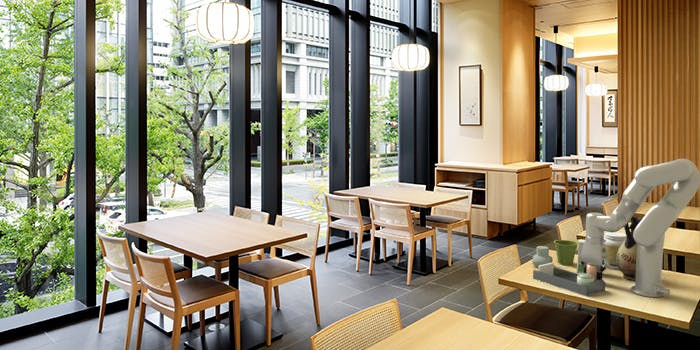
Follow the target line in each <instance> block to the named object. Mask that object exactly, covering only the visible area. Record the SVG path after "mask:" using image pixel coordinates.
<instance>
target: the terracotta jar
mask: <svg viewBox="0 0 700 350" xmlns="http://www.w3.org/2000/svg"><path fill="white" fill-rule="evenodd" d="M597 272H598V269H597V266H596V265H594V264H590V263H587V271H586V273H587V274H591V275H593V277H595V279H597Z"/></svg>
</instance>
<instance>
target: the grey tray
mask: <svg viewBox="0 0 700 350" xmlns="http://www.w3.org/2000/svg"><path fill="white" fill-rule="evenodd" d="M579 274H580V273H577V272H574V271H570V270H566V269H563V268H560V267H556V266H554V269H553V275H550V274H546V273H543V272H540V271H538V269H533V271H532V279H533V280H536V281H539V280H540V281H539V282H542V281H543V283H545V282H546V283H545V284H548V283H549V284H548V285H551V286H555V287H558V288H560V289H564V290H567V291H569V292H573V293H576V294H578V295H582V296H585V297H588V296H591V295H595V294H599V293H602V292H605V291H606V281H605V280H604V279H603V278H602V279H601V280H597V279H595V281H594V282H590V283H586V286H585V285H582V284H579V283H577V275H579Z"/></svg>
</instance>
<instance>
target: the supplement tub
mask: <svg viewBox="0 0 700 350" xmlns="http://www.w3.org/2000/svg"><path fill="white" fill-rule="evenodd" d="M626 237H627V236H626V232H625V233H624V232H619V231H617V232H607V231H605V232H604V239H605V240H606V242H604V244H605V245H606V250H607V262H608V264H609V265H610V267H609V268H608V269H610V270H619V268H618V267H617V264H616V256H617V252H618V249H619V248H620V246H621V245H622V244H623V242H624V241H625V240H626ZM604 266H605V265H603V267H604ZM619 271H620V270H619Z"/></svg>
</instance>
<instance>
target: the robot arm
mask: <svg viewBox="0 0 700 350" xmlns="http://www.w3.org/2000/svg"><path fill="white" fill-rule="evenodd" d="M672 183H673V184H672ZM668 184H672V185H671V186H670V187H669V189H668V190H667V192H666V193H665V194H664V196H663V197H662V198H661V199H660V200H659V201H657V202H656V203H655V204H653V205H652V206H651V207H650V208H649V209H648V211H647V212H646V214H645V215H644V216H643V217H642V218H643V219H642V220H641V221H640V223H639V224H638V225H637V227H636V228H635V229H634V232H633V237H634V240H635V241H636V242H637V243H638V245H637V259H636V279H635V280H634V281H635V282H634V283H635V284H634V285H632V286H631V287H630V291H631V292H632V293H634V294H636V295H639V296H642V297H648V298H660V297H664V296H670V294H671V289H669V288H666V287H664V285H665V284H664V283H662V276H663V275H662V272H663V258H664V257H663V255H664V244H665V239H666V238H665V236H666V232H667V231H668V229H670V227H671V226H672V225H673V223H674V222H675V221H677V220H678V218H679V217H680V215H681V213H683V210H684V209H685V208H686V207H687V205H688V204H689V203H690V201H691V200H692V199H693V197H694V196H695V195H696V193H697V191H698V190H699V188H700V172H699V169H698V167H697V166H696V164H695V163H694V162H693V161H691V160H690V159H687V158H678V159H675V160H671V161H666V162H663V163H658V164H654V165H645V166H642V167H640V168H639V169H637V170H636V171H635V173H634V178H633V179H632V180H631V182H630V183H629V184H628V186H627V187H626V188H625V190H624V191H623V193H622V197H621V200H620V202H619V204H618V205H617V206H616V208H615V209H614V210H613V211H612V213H610V214H608V215H604V213H600V212H589V213H588V212H587V214H586V218H585V239H584V240H585V241H584V244H583V249H582V255H581V256H580V257H579V258H578V257H577V260H579V261H580V262H581V264H582V265H583V268H584V273H586V271H587V263H590V264H594V265H596V266H597V269H598V272H597V280H601V279H602V280H603V276H604V275H603V274H604V272H605V271H606V270H607V269H610V268H609V267H610V265H609V264H608V262H607V250H606V245H605V244H604V242H606V240H605V239H604V238H605V237H604V236H605V232H619V231H621V229H624V226H625V225H626V224H627V223H628V221H631V220H630V219H631V218H632V216H634V215H635V214H636V212H637V211H638V210H639V209H640V208H641V206H642V204H644V202H645V200H646V199H647V198H648V197H649V195H650V194H651V193H652V191H653V190H654V189H655V188H656V186H662V185H668ZM628 224H629V223H628ZM603 265H605V266H603Z"/></svg>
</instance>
